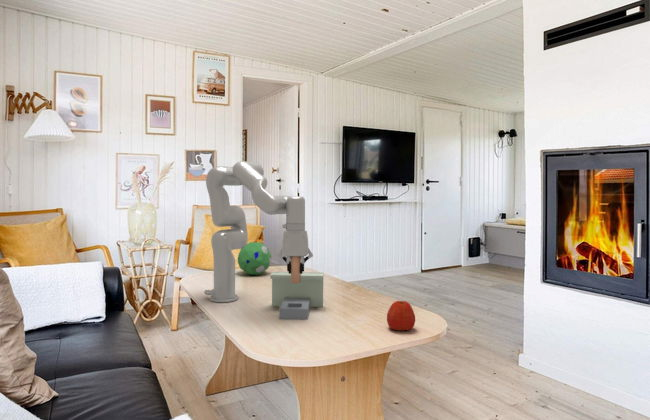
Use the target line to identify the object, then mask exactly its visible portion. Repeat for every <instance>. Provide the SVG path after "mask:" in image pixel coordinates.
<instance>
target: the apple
mask: <svg viewBox="0 0 650 420" xmlns="http://www.w3.org/2000/svg"><path fill="white" fill-rule="evenodd" d="M386 322H387V325H388V327H389V329H391V330H394V331H399V332H400V331H403V332H404V331H405V330H406V331H410V330H412V329H414V326H415V324H416V315H415V311H414V309H413V307H412V305H411V304H410V303H409V302H408V301H406V300H397V301H394V302H393V303H392V304H391V305H390V307H389V309H388V311H387V314H386Z"/></svg>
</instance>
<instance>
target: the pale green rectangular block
mask: <svg viewBox="0 0 650 420" xmlns="http://www.w3.org/2000/svg"><path fill="white" fill-rule="evenodd" d="M269 278H270V279H271V307H280V306H281V304H282V302H283V300H284V298H285V297H286V298H310V308H315V307H316V308H323V307H324V272H305V271H303V273H302V274H301V283H291V274H289V271H272V272H271V273H270V277H269Z"/></svg>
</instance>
